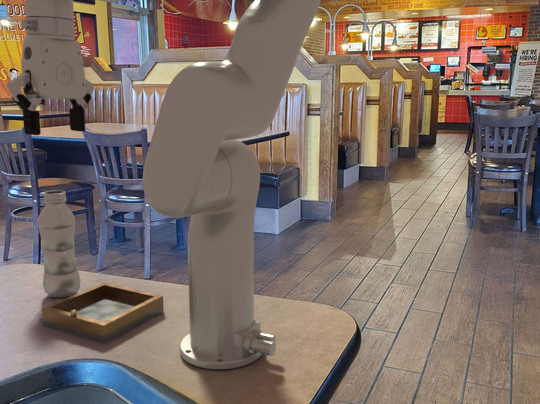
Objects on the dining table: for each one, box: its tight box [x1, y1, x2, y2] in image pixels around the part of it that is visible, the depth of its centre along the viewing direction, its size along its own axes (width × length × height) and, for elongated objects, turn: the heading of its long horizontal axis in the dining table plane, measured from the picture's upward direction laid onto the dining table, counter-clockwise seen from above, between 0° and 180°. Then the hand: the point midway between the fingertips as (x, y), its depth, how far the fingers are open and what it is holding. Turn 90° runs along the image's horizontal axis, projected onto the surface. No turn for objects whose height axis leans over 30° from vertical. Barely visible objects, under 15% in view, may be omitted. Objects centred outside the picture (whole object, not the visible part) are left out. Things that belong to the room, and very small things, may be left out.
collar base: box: [41, 282, 164, 345], centre depth 91 cm, size 14×14×4 cm
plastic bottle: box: [36, 190, 82, 298], centre depth 100 cm, size 6×7×20 cm
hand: (56, 132), depth 94 cm, fingers open, 9 cm apart
